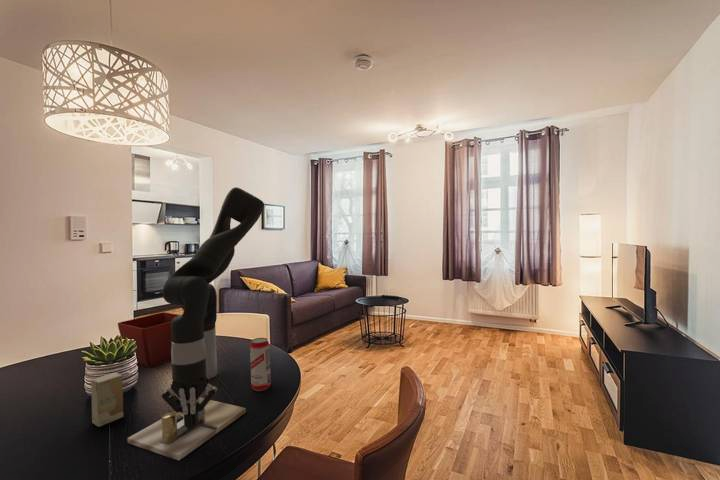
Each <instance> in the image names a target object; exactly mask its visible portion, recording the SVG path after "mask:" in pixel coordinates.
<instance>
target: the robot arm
mask: <svg viewBox="0 0 720 480" xmlns="http://www.w3.org/2000/svg"><path fill="white" fill-rule="evenodd" d="M264 208H265V202H264V201H263V200H261V199H260V198H258V197H257V196H254V195H253V194H252V193H249V192H248V191H246V190H244V189H242V188H240V187H232V188H231V189H230V190H229V191H228V193H227V194H226V196H225V198H224V200H223V202H222V206H221V208H220V211H219V214H218V216H217V219H216V222H215V224H214V228H213V230H212V232H211V234H210V236H209V237H208V238H207V239H206V240H205V241H204V242H202V244H201V245H200V246H199V248H198V249H197V250H196V252H195V253H194V255H193V256H192V257H191V259H189V260H188V261H187V262H186V263H183V264H182V266H181V267H179V268H178V269H177V270H175V271H174V272H173V273H172V274H171V275H170V276H169V277H168V278H167V279H166V281H164V285H163V287H162V291H161V292H162V297H163V299H164V301H165V302H166V303H168V304H170V305H173V306H174V305H175V306H176V305H177V306H180V307H181V309H182V310H183V312H182V314H177V315H178V316H176V317H175V318H173V320H172V323H171V334H172V347H171V360H170V361H171V378H172V383H171V384H170V388H167V389H166V390H165V391H164V392H163V393H162V394H161V398H162V400H164V402H165V403H166V404H168V406H169V407H170V408H171V409H172V410H173V412H176V413H179V412H181V413H183V414H184V425H185V427H187V429H194V427H195V426H196V425H197V423H198V421H199V420H198V411H202V410H203V409H204V407H205V406H206V405H207V403H208V402H209V401H210V400H212V398H213V396H215V394H216V392H217V391H218V389H219V387H218V385H212V384H210V382H209V380H211V379H212V378H215V377H216V376H217V375H218V359H217V358H218V357H217V356H218V355H217V336H216V335H217V334H216V322H217V318H218V316H217V315H218V314H217V313H218V312H217V309H218V305H217V304H218V302H217V301H218V299H217V298H218V295H217V291H216V288H215V286H214V285H213V284H212V282H213V281H214V280H216V279H217V278H218V277H220V276H221V275H222V274H223V273H224V272H225V271H226V270H227V269H228V268H229V266H230V264H231V262H232V260H233V258H234V256H235V251H236V249H235V248H236V246H237V245H238V244H239V243H240V242H241V240H242V239H243V238H244V237H245V236H246V235H247V233H249V231H250V230H251V229H252V228H253V226H254V225H256V223H257V222H258V220H259V218H260V217H261V215H262V213H263V211H264ZM232 220H234V221H236V222H238V223H239V224H238V225H237V226H235V227H233V228H231V221H232ZM204 391H205V395H206V396H205V397H204V398H205V399H204V400H203V401H202V403H200V404H199V399H200V398H201V395H202V394H203V393H204Z"/></svg>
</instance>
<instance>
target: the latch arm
mask: <svg viewBox="0 0 720 480" xmlns="http://www.w3.org/2000/svg"><path fill="white" fill-rule="evenodd" d="M161 419H162V441H163V442H171V441H173V440H175V439H176V438H177V437H178V436H179V435H180V434H182V433H183V432H185V431H186V430H188V429H187V427H185V425H184V419H183V420H181V421H180V422H178V423H177V415H176V413H175V411H172V412H167V413H165V414H163V415H162V416H161ZM161 419H160V420H161ZM198 420H199V421H198V423H197V425H198V424H200V423H202V422H203V421H204V420H205V408H204V409H203V410H202V411H198Z"/></svg>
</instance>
